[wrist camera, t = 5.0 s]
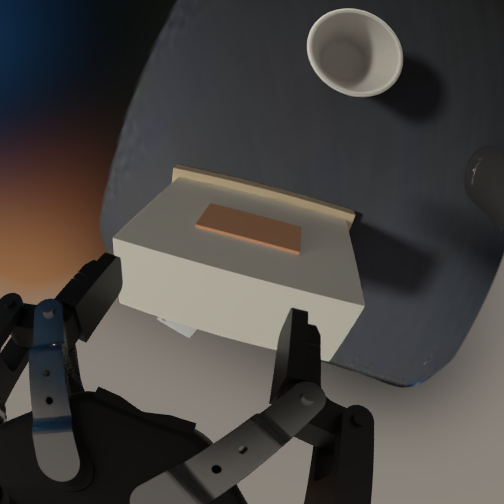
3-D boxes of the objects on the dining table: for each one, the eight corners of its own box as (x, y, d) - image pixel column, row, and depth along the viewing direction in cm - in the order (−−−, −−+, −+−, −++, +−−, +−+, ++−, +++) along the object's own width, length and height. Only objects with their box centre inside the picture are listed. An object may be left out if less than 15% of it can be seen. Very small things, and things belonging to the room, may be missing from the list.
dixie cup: (356, 19, 24) (375, -2, 15) (388, 81, 27) (418, 81, 19) (292, 43, 27) (288, 26, 18) (325, 103, 30) (335, 110, 22)
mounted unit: (353, 210, 37) (380, 300, 22) (328, 269, 42) (334, 368, 28) (177, 164, 37) (102, 225, 23) (172, 227, 43) (112, 306, 28)
